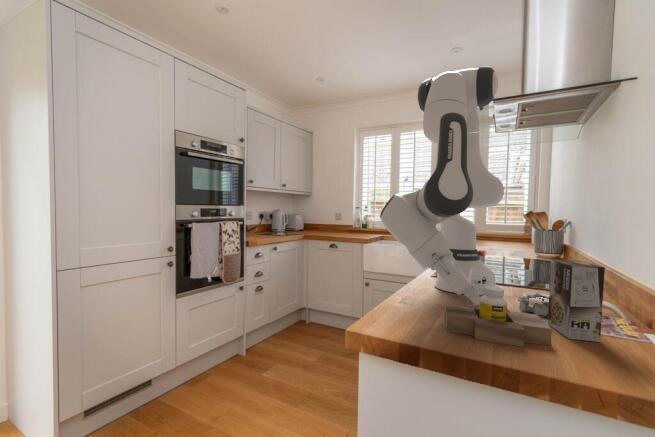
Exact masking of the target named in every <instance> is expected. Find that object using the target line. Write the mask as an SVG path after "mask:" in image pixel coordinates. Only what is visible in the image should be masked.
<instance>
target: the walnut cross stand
mask: <svg viewBox="0 0 655 437" xmlns="http://www.w3.org/2000/svg"><path fill="white" fill-rule="evenodd" d="M466 304H467V306H464V305H455V304H447V303H445V304H444V314H443V315H444V316H443V318H444V323H445V329H446V332H447V333H454V334H455V333H456V334H464V335H472V336H473V338H474V340H475V341H483V342H489V343H495V344H502V345H503V344H504V345H511V346H517V347H525V343H527V344H535V345H542V346H550V347H551V346H552V334H553V333H552V332H553V329H552V327H551V326H550V325H548V323H546V322H545V321H544V320H543V319H542V318H541V317H540V315H536V314H534V313H529V312H528V313H527V312H517V311H510V310H509V309H508V308H507V311H506V322H504V321H496V320H487V319H479V312H480V304H478V305H475V304H474V303H472V304H471V303H466Z"/></svg>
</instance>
